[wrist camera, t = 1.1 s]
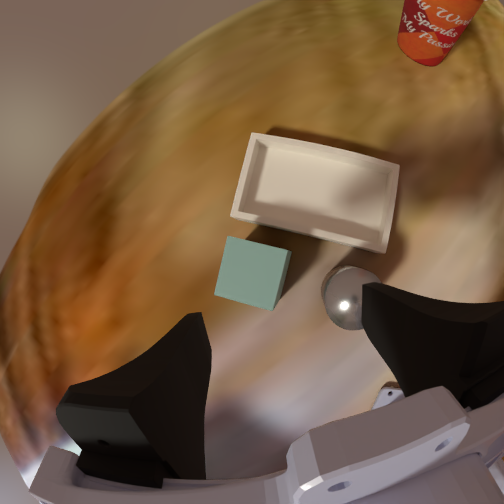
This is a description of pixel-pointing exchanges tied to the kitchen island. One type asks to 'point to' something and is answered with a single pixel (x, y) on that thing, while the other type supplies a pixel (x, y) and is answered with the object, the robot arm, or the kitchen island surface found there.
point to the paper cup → (433, 27)
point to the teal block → (252, 273)
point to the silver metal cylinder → (345, 295)
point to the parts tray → (317, 191)
